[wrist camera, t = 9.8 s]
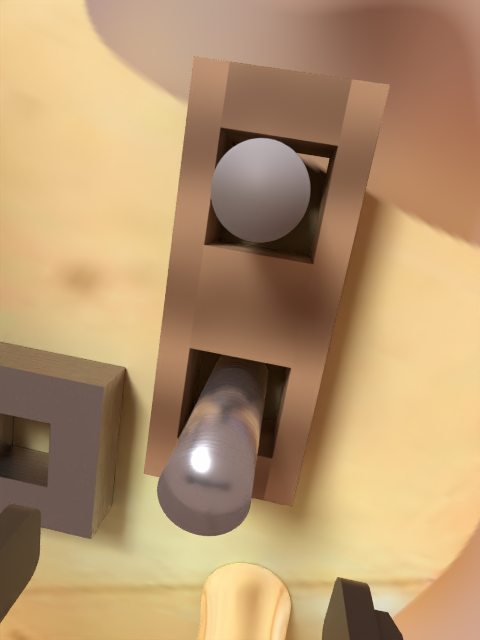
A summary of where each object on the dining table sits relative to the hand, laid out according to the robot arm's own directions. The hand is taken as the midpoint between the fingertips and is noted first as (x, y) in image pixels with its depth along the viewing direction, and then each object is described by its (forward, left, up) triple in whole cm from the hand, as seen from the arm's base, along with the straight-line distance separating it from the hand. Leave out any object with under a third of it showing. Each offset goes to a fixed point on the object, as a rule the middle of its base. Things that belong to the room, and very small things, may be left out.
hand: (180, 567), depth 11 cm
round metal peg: (0, 0, -14) cm, 14 cm away
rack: (-5, 0, -14) cm, 15 cm away
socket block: (+6, -12, -14) cm, 20 cm away
